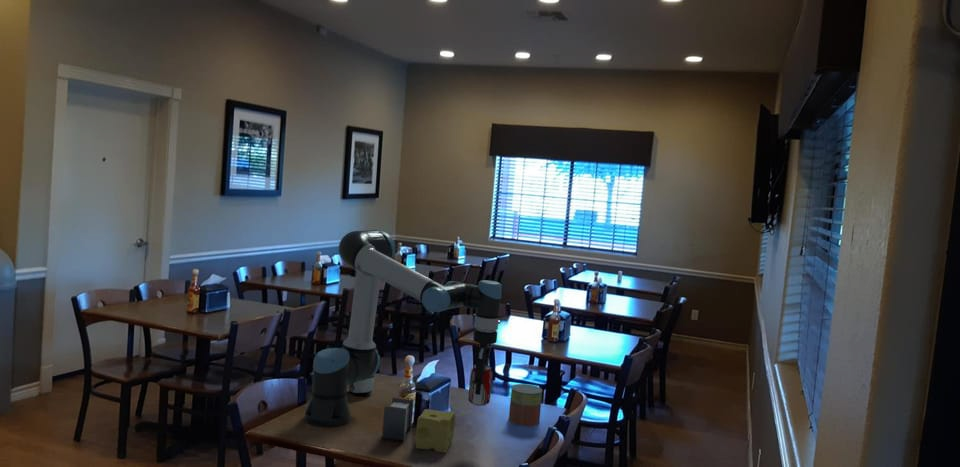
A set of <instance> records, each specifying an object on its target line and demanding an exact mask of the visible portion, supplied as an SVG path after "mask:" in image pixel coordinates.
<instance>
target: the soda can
mask: <svg viewBox="0 0 960 467" xmlns="http://www.w3.org/2000/svg"><path fill="white" fill-rule="evenodd" d="M475 370H476V364H473V368H471V370H470V375H469V377H470V378H469V384H468V402H469V403H470V404H471V405H474V406H477V407H478V406H479V407H483V406H487V405H488V404H490V401H491V393H492V385H493V371H492V366H490V365H485V371H484V378H483V393H482V403H481V404H474V403H473V395H474V385H475V384H474V383H472V381H474V378H475ZM477 380H478V379H477Z"/></svg>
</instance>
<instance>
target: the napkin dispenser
mask: <svg viewBox="0 0 960 467" xmlns="http://www.w3.org/2000/svg"><path fill="white" fill-rule="evenodd" d="M391 398H392V401H391V405H384V407H383V408H384V409H383V410H384V411H383V424H382V436H381V441H387V442H393V443H394V442H395V443H401V444H404V443H405V441H406V440H407V438H408V437H409V436H410V434H411V433H412V425H413V424H412V423H413V411H414V399H410V398H403V397H395V396H393V397H391Z"/></svg>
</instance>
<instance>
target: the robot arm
mask: <svg viewBox="0 0 960 467" xmlns="http://www.w3.org/2000/svg"><path fill="white" fill-rule="evenodd" d="M338 244H339V245H338V254H339V257H340V258H341V260H342V261H343V262H344V263H345V264H346V265H348V266H349V267H350V268H351V269H354V270H355V271H356V275H355V282H354V283H355V284H354V289H353V290H354V291H353V298H352V306H351V313H350V321H349V330H348V335H347V338H345V339H344V340H343V342H342V346H341V347H332V348H324V349H321V350H320V351H318V352H317V353H316V354H315V356H314V360H313V365H312V368H313V369H312V382H311V383H312V384H311V386H312V387H311V397H310V400H309V403H308V405H307V407H306V410H305V412H304V421H305V422H306V423H307V424H308V425H309V424H310V425H312V426H315V427H321V428H323V427H324V428H332V427H340V426H344V425H346V424H348V423H349V422H350V420H351V410H350V406H349V403H348V398H347V396H348V386H347V385H349V384H352V383H355V382H358V381H363V380H366V379H368V378H369V377H371V376H373V375H374V376H375V374H377V372H378V371H379V368H380V363H381V356H380V354H378V353H379V351H378V349H377V344H376V343H375V342H374V340H373V337H374V330H375V324H376V323H375V322H376V317H377V316H376V315H377V309H378V308H377V307H378V301H379V293H380V288H381V287H380V286H381V280H382V281H383V282H385V284H386V283H387V284H388V285H390V286H392V287H394V288H396V289H398V290H399V291H401V292H404V293H405V294H407V295H409V296H410V297H412V298H414V299H416V300H418V301H420V302H421V303H422V305H423V307H424V308H425V310H426V311H428V312H431V313H437V312H438V313H440V312H444V311H447V310H450V309H457V308H461V307H462V308H463V307H464V308H468V309H473V310H474V309H475V316H474V324H473V327H474V330H473V337H472V340H473V341H474V342H475V343H477V344H479V345H478V347H477V348H476V358H475V359H476V362H475V365H476V370H475V378H474V381H472V383H474V384H475V385H474V395H473V403H474V404H481V403H482V393H483V378H484V371H485V365H488V366H490V355H491V354H490V353H491V351H492V348H491V345H494V344H496V343H497V341H498V331H497V330H498V329H499V327H498V326H499V325H500V324H501V321H500V320H499V319H500V309H501V301H502V287H503V286H502V284H501V283H500V282H498V281H494V280H486V279H483V280H480V281H479V282H478V283H477V284H478V285H476V284H472V283H471V284H469V283H465V282H461V281H457V280H456V281H454V280H451V281H447V282H446V283H445V284H444V285H443V284H441V283H439V282H437V281H435V280H434V279H431V278H429V277H427V276H425V275H423V274H422V273H419V271H417V270H414V269H413V268H410V267H408V266H406V265H405V264H403V263H401V262H398V261H397V260H395V259H394V257H395V254H396V244H395V241H394V239H393V238H392V236H391V235H390V234H389V233H387V232H385V231H383V230H377V229H375V230H374V229H372V230H369V229H368V230H353V231H349V232H347V233H346V234H345V235H343V237H342V238H341V239H340V242H339V243H338ZM477 379H478V380H477Z"/></svg>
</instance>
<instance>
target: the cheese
mask: <svg viewBox="0 0 960 467" xmlns="http://www.w3.org/2000/svg"><path fill="white" fill-rule="evenodd" d="M455 418H456V413H455V412H454V411H442V410H435V409H429V408H425V409H424V410H423V411H422V413H421V415H419V416H418V417H417V421H416V429H415V430H416V431H415V432H416V433H415V449H418V450H419V449H421V450H434V451H435V452H439V453H445V454H446V453H447V451H448V449H449V447H450V445H451V444H452V442H453V439H454V438H453V437H454V433H455V427H456V425H455V424H456V419H455Z"/></svg>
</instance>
